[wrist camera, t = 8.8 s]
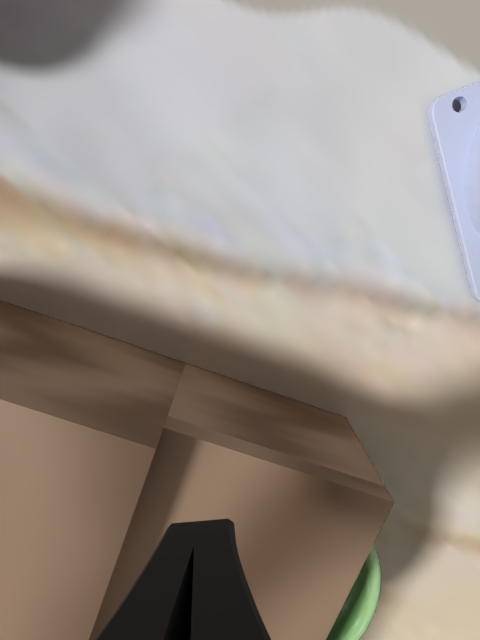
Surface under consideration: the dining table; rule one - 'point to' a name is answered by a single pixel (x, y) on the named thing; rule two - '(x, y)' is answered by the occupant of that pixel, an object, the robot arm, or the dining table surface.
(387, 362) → the dining table surface
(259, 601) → the walnut shelf
